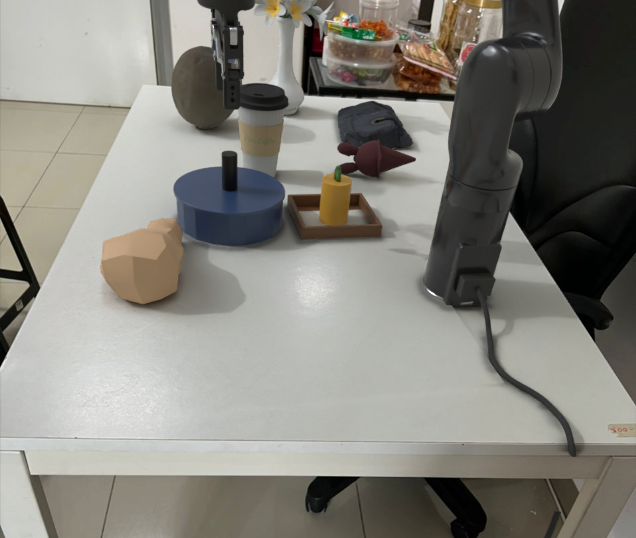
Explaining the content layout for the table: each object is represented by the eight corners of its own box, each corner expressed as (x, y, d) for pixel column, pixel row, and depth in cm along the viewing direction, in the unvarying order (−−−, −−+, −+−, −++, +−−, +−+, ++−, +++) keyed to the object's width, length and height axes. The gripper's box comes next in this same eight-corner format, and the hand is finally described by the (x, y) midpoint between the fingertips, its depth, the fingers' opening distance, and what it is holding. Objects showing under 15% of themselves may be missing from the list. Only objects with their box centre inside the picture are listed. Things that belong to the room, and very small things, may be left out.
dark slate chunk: (399, 116, 152) (402, 95, 149) (414, 151, 135) (418, 128, 132) (334, 112, 150) (336, 90, 147) (342, 147, 134) (344, 123, 131)
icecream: (415, 137, 123) (337, 137, 124) (419, 141, 117) (337, 141, 117) (412, 175, 127) (336, 175, 127) (416, 181, 120) (336, 180, 120)
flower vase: (323, 124, 143) (335, -6, 127) (241, 115, 144) (242, -16, 127) (327, 106, 153) (338, -17, 137) (251, 97, 153) (252, -27, 137)
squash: (97, 316, 83) (76, 250, 78) (135, 258, 100) (119, 200, 95) (179, 309, 83) (163, 242, 77) (203, 252, 99) (191, 193, 94)
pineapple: (350, 226, 106) (357, 171, 100) (322, 227, 105) (327, 171, 99) (343, 213, 110) (349, 159, 104) (315, 213, 109) (320, 159, 103)
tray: (380, 239, 105) (382, 225, 103) (301, 242, 102) (302, 228, 100) (360, 206, 114) (361, 192, 112) (286, 208, 111) (287, 194, 109)
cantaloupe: (222, 142, 130) (220, 62, 121) (161, 128, 134) (154, 49, 124) (252, 122, 141) (253, 46, 131) (194, 110, 144) (191, 35, 134)
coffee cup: (244, 188, 115) (244, 100, 105) (227, 167, 121) (226, 82, 112) (292, 183, 119) (297, 97, 109) (274, 163, 125) (277, 80, 115)
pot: (290, 246, 101) (291, 214, 97) (182, 251, 97) (180, 217, 93) (271, 200, 112) (272, 169, 109) (174, 202, 109) (172, 171, 105)
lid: (294, 218, 97) (297, 176, 93) (177, 222, 93) (174, 177, 89) (274, 172, 110) (276, 132, 105) (170, 173, 106) (167, 132, 101)
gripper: (190, -48, 85) (196, 84, 96) (201, -29, 75) (206, 115, 86) (246, -44, 87) (246, 84, 98) (264, -26, 77) (262, 115, 87)
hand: (227, 99), depth 92 cm, fingers open, 8 cm apart
